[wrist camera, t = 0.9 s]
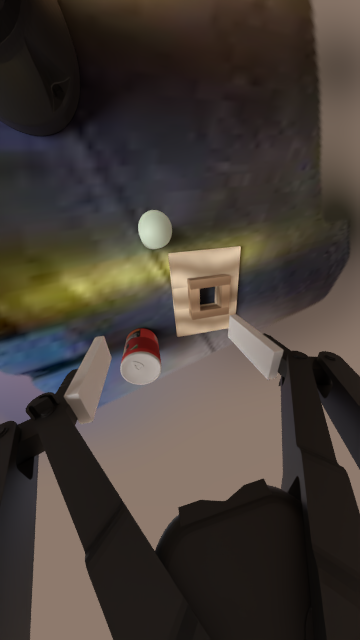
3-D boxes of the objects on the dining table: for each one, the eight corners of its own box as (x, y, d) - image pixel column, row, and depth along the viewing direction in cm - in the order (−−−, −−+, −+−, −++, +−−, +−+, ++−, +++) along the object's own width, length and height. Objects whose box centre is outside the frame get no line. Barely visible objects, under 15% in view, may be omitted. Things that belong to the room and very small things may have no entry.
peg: (139, 227, 30) (135, 211, 18) (160, 226, 31) (170, 209, 18) (143, 250, 32) (141, 249, 19) (162, 248, 32) (173, 246, 20)
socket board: (168, 253, 33) (170, 253, 29) (237, 246, 35) (248, 245, 32) (176, 334, 41) (179, 342, 38) (232, 325, 44) (240, 331, 40)
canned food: (135, 322, 38) (131, 347, 28) (163, 335, 41) (169, 362, 31) (120, 346, 39) (112, 378, 30) (149, 357, 42) (150, 389, 33)
